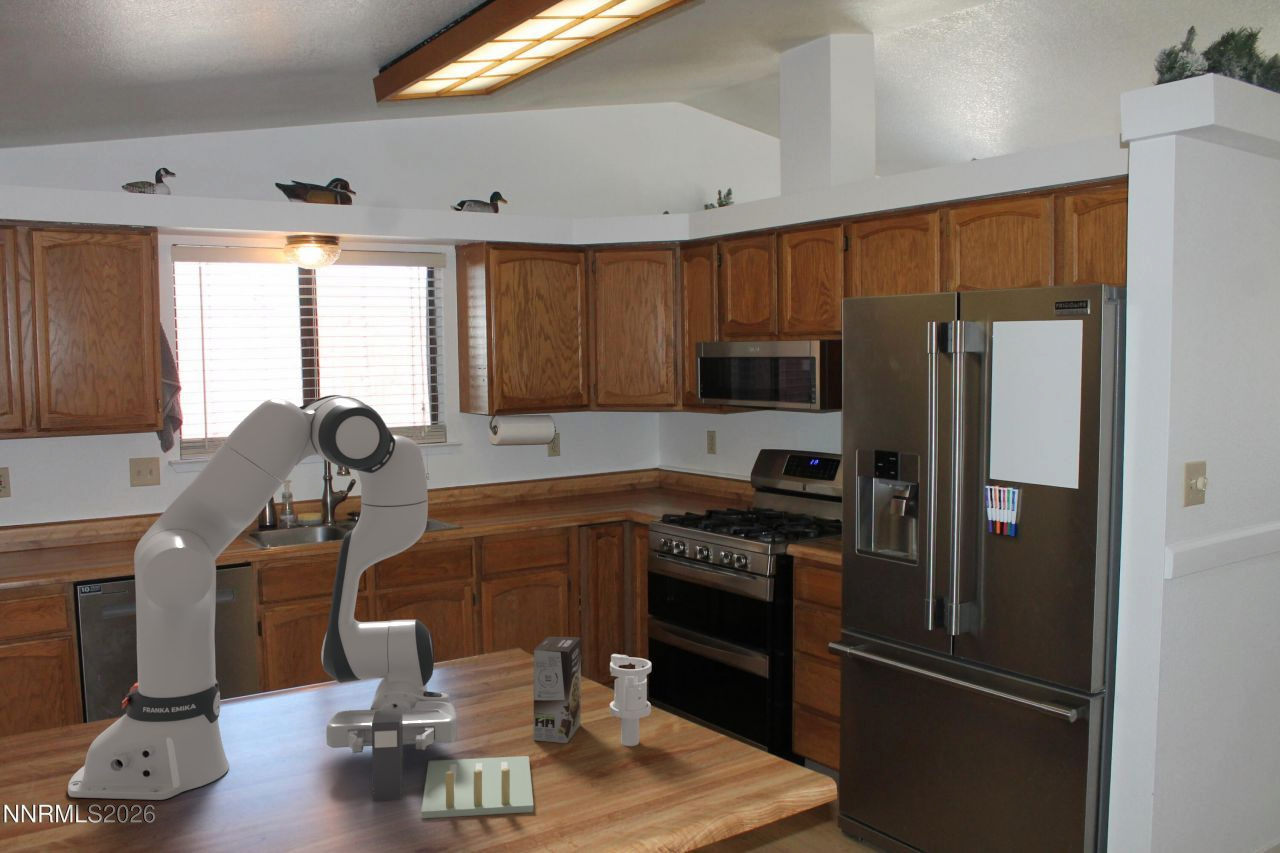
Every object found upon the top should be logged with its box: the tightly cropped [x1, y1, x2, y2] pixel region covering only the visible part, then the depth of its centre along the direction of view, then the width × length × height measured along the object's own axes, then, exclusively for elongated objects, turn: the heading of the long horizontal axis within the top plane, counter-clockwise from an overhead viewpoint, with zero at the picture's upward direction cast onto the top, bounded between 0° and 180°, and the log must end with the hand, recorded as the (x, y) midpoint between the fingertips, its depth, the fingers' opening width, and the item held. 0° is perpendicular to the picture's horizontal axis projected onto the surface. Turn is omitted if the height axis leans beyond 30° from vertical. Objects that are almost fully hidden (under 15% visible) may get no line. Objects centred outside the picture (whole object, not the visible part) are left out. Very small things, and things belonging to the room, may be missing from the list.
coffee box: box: [532, 635, 582, 744], centre depth 178 cm, size 9×6×16 cm
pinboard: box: [420, 755, 534, 819], centre depth 156 cm, size 16×18×6 cm
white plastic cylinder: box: [609, 653, 652, 747], centre depth 174 cm, size 7×7×15 cm
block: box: [371, 710, 404, 802], centre depth 154 cm, size 4×5×12 cm
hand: (388, 746), depth 156 cm, fingers open, 8 cm apart
